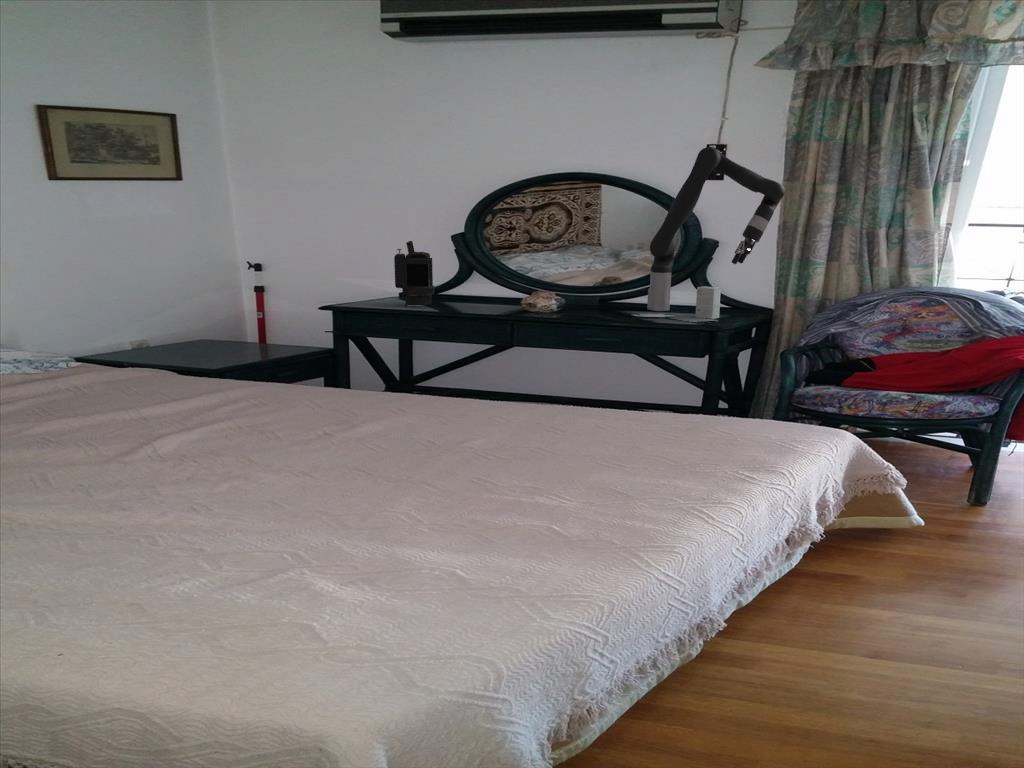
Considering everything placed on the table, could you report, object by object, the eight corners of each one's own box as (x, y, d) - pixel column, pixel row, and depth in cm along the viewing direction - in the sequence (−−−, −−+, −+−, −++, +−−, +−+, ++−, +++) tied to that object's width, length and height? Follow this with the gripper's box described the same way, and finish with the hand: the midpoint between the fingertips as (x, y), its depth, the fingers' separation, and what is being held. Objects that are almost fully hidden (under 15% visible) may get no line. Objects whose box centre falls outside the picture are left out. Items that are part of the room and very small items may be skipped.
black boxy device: (434, 307, 345) (433, 241, 339) (395, 307, 344) (393, 241, 337) (435, 303, 360) (434, 240, 353) (398, 303, 359) (396, 240, 352)
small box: (719, 318, 317) (721, 287, 314) (712, 319, 312) (714, 288, 309) (702, 316, 322) (704, 286, 319) (694, 317, 318) (696, 287, 315)
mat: (664, 318, 314) (664, 317, 314) (683, 316, 321) (683, 315, 321) (699, 323, 300) (699, 322, 300) (718, 321, 308) (718, 320, 308)
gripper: (742, 225, 320) (724, 259, 322) (753, 222, 306) (733, 258, 308) (757, 234, 321) (739, 267, 323) (769, 231, 307) (749, 266, 308)
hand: (736, 263), depth 315 cm, fingers open, 8 cm apart
